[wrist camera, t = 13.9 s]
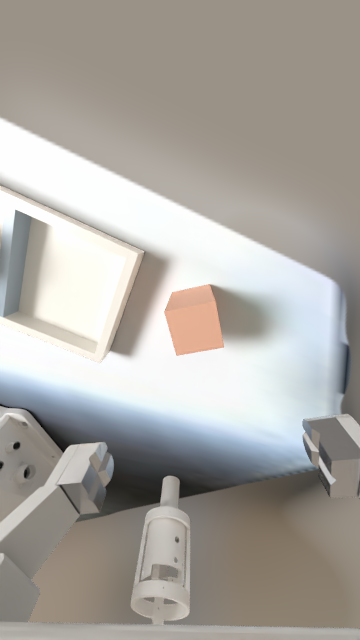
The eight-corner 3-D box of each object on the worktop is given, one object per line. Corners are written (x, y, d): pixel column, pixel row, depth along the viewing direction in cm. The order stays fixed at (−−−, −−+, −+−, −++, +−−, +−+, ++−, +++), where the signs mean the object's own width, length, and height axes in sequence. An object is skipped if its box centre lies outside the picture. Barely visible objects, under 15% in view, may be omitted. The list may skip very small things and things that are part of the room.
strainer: (150, 490, 39) (126, 631, 25) (153, 465, 36) (128, 608, 22) (187, 495, 39) (184, 641, 25) (193, 471, 36) (193, 618, 22)
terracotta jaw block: (209, 284, 24) (215, 301, 17) (216, 319, 25) (224, 347, 19) (172, 292, 25) (164, 311, 18) (180, 326, 26) (176, 355, 20)
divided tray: (144, 251, 23) (138, 253, 20) (109, 350, 28) (100, 363, 25) (-90, 144, 21) (-134, 129, 18) (-82, 273, 26) (-116, 278, 23)
